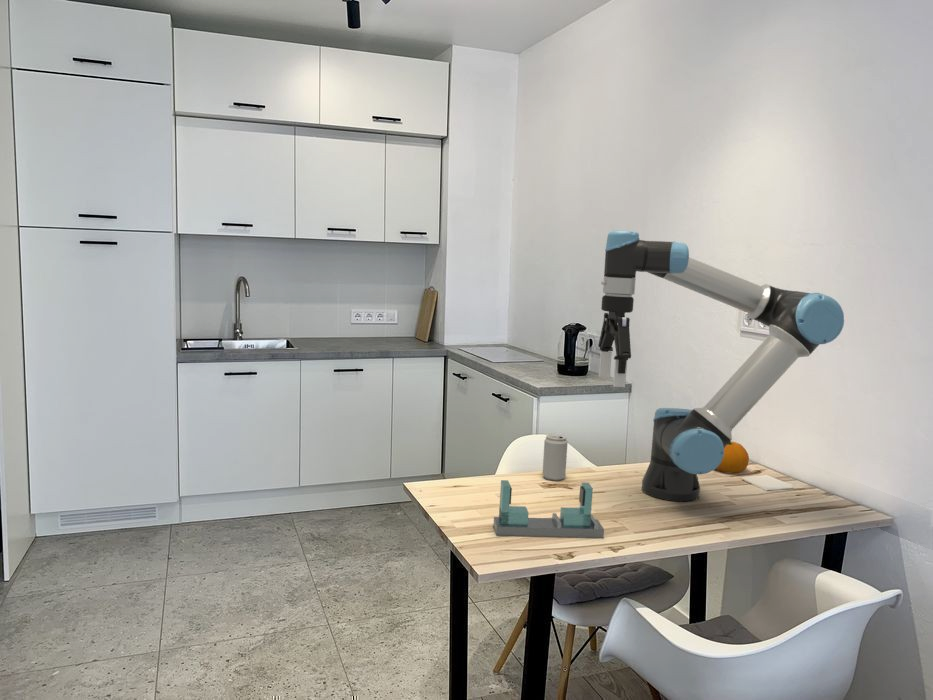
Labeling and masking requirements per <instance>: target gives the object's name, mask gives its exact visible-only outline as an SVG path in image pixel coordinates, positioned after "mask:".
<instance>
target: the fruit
mask: <svg viewBox="0 0 933 700" xmlns="http://www.w3.org/2000/svg"><path fill="white" fill-rule="evenodd" d="M749 460H750V457H749V453H748V451H747V450H746V448H745V447H744V446H743V445H742V444H741V443H739V442H736V441H732V440H731V441H730V442H729V443H728V445H727V446H726V447H725V448H724V457H723V460H722V461H721V463H720V465H719V466H718V467H717V468H716V469H715V470H716V471H719V472H722V473H726V474H738V473H741V472H744V470H746V469H747V467H748V465H749V462H750V461H749Z"/></svg>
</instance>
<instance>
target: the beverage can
mask: <svg viewBox="0 0 933 700" xmlns="http://www.w3.org/2000/svg"><path fill="white" fill-rule="evenodd" d="M568 442H569V441H568V440H567V436H565V435H563V434H555V433H553V434H552V433H551V434H547V435H546V436H545V439H544V445H543V460H542V461H543V463H542V476H543V477H544V479H546V480H549V481H554V482H555V481H556V482H557V481H562V480H563V479H564V478H566V471H567V457H568V456H567V454H568V444H569V443H568Z"/></svg>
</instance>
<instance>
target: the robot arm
mask: <svg viewBox="0 0 933 700" xmlns="http://www.w3.org/2000/svg"><path fill="white" fill-rule="evenodd" d="M604 249H605V254H604V255H605V257H604V258H605V259H604V268H603V269H604V270H603V274H604V275H603V276H604V277H603V280H601V281H600V282H601V285H603V287H602V293H603V294H604V295H602V297H601V308H600V309H601V311H604V314H603V322H602V326H601V331H600V335H599V336H600V337H599V341H598V344H597V345H598V348H599V350H600V353H599V354H600V355H599V366H598V367H599V368H598V377H599V378H610V377H611V364H612V355H613V354H612V353H613V352H614V348H615V355H614V357H613V360H614V370H613V380H612V381H613V384H612V386H613V388H626V380H627V367H628V360H629V359H631V358H632V350H631V337H630V336H631V335H630V322H631V321H630V320H631V319H630V317H626V313H627V314H629V313H633V311H634V302H635V300H634V297H633V295H635V290H636V276H637V275H636V274H637V272H641V273H648V274H651V275H653V276H656V277H658V278H662V279H664V280H665V281H668V282H671V283H674V284H676V285H678V286H681V287H683V288H686V289H689V290H691V291H694V292H696V293H697V294H700V295H703V296H705V297H707V298H711V299H713V300H715V301H718V302H721V303H723V304H725V305H727V306H730V307H733V308H735V309H737V310H740V311H743V312H744V313H747V315H748V317H749V319H750V320H754V321H756V322H758V323H760V324H763V325H765V326H767V327H768V333H769V334H768V335H767V337H766V338H765V339H764V340H763V341H762V343H760V344H759V346H758V347H757V348H756V349H755V350H754V351H753V353H751V355H750V356H749V357H748V358H747V359H746V360H745V361H744V362H743V364H741V366H739V368H737V370H736V371H735V372H734V373H733V374H732V376H730V378H729V379H728V380H727V381H726V382H725V383H724V385H722V386H721V387H720V388H719V390H718V391H717V392H716V393H715V394H714V395H713V397H712V398H711V399H709V401H708V402H707V403H706V404H705V405H704V406H702V407H695V408H692V409H688V408H678V407H677V408H676V407H660V408H657V409H656V410H655V412H654V418H653V426H652V427H653V430H652V440H651V441H652V443H651V450H650V451H651V454H650V462H649V465H648V467H647V469H646V471H645V474H644V476H643V478H642V481H641V491H642V492H644V493H645V494H646V495H649V496H651V497H654V498H656V499H661V500H666V501H671V502H672V501H673V502H690V501H692V502H693V501H695V500H697V499H699V498H700V493H701V487H700V483H699V477H698V476H699V475H705V474H709V473H711V472H712V471H714V470H716V468H717V467H718V466H719V465H720V463H721V461H722V460H723V457H724V448H725V447H726V446H727V445H728V443H729V442H730V441H731V442H732V439H733V436H732V432H733V430H734V428H735V427H736V426H737V425H738V424H739V423H740V422H741V421H742V420H743V418H744V417H745V416H746V415H747V414H748V413H749V412H750V411H751V410H752V408H754V406H756V404H758V402H759V401H760V400H761V399H762V398H763V397H764V396H765V395H766V394H767V392H768V391H769V390H770V389H771V388H772V387H773V386H774V385H775V384H776V382H778V380H780V378H781V377H782V376H783V375H784V374H785V373H786V372H787V371H788V370H789V368H791V366H792V365H793V364H794V363H795V362H796V360H798V359H799V358H805V357H809V356H810V355H812V353H813V352H814V351H815V350H816V349H817V348H818V347H819V346H820V345H826V344H828V343H831V342H833V341H834V340H835V339H837V337H839V336H840V334H841V333H842V330H843V328H844V324H845V315H844V311H843V308H842V306H841V304H840V303H839V302H838V301H837V300H836V299H834V298H833V297H831V296H829V295H827V294H824V293H820V292H805V291H797V290H790V289H789V290H788V289H783V288H779V287H775V286H772V285H770V284H762V285H759V284H756V283H754V282H751V281H749V280H746V279H744V278H742V277H739V276H736V275H734V274H732V273H729V272H727V271H725V270H721V269H720V268H717V267H714V266H713V265H709V264H706V263H704V262H702V261H699V260H697V259H695V258H691V257H690V250H689V246H688V245H687V244H686V243H685V242H678V241H677V242H676V240H675V241H661V240H643V239H640V234H639V232H638V231H633V230H632V231H631V230H611V231H609V232H608V233H607V238H606V244H605V248H604ZM613 343H614V348H613Z"/></svg>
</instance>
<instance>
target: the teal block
mask: <svg viewBox="0 0 933 700" xmlns="http://www.w3.org/2000/svg"><path fill="white" fill-rule="evenodd" d="M593 492H594V488H593V487H592V485H591V484H590V483H589V482H581V485H580V486H579V497H578V499H579V500H578V502H579V507H560V514H559V519H560V521H561V523H562V525H563V527H590V519H591V514H592V506H593V504H592V503H593Z"/></svg>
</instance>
